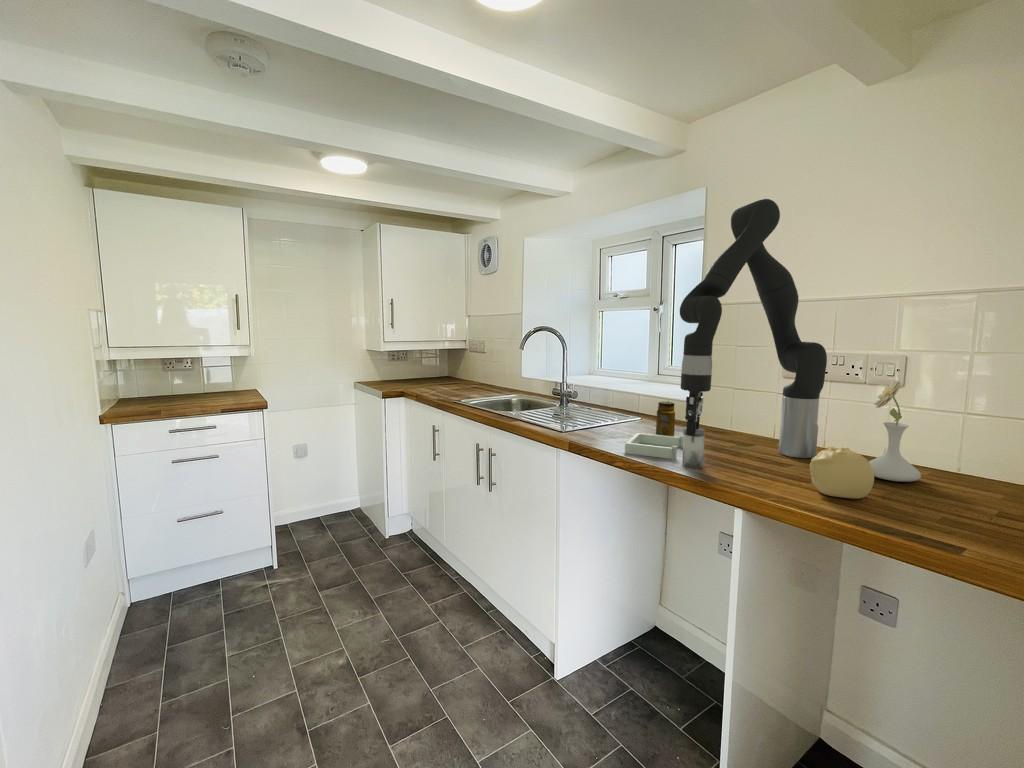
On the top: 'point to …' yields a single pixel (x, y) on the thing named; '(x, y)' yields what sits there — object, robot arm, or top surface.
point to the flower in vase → (893, 444)
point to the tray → (651, 450)
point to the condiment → (665, 419)
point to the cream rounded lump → (841, 473)
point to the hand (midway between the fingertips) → (692, 432)
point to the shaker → (693, 449)
